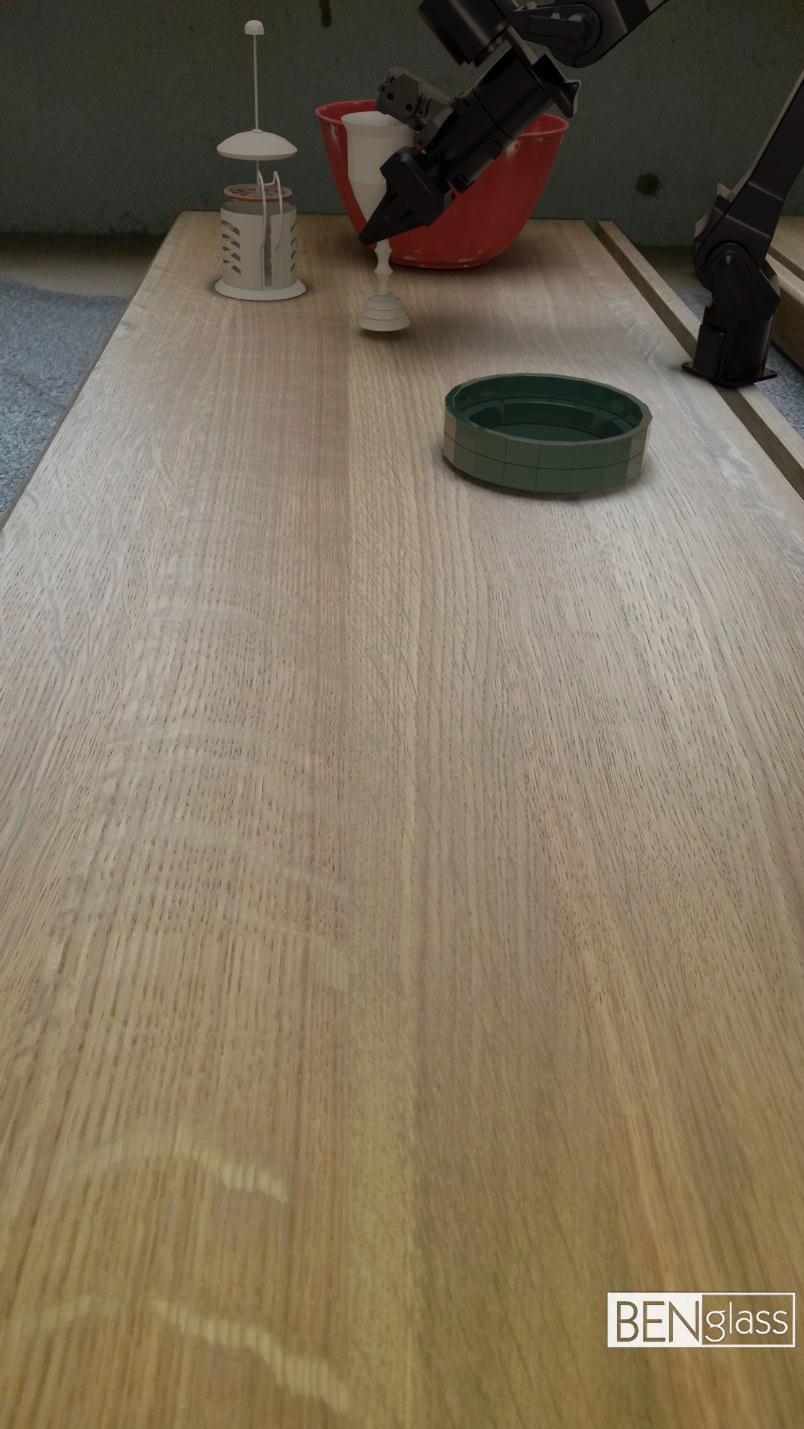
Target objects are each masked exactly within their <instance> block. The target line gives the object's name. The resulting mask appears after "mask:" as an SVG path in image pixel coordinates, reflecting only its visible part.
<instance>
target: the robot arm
mask: <svg viewBox="0 0 804 1429" xmlns="http://www.w3.org/2000/svg"><path fill="white" fill-rule="evenodd" d="M669 1H670V0H554V1H553V2H546V3H538V4H536V2H535V1H534V0H533V1H530V2H528V3H526V4H525V5H523V6H520V5H519V3H518V2H517V1H516V0H422V2H421V3H420V4H419V5H418V7H417V8H416V10H415V12H416V14H417V15H418V16H419V17H420V18H421V20H422V21H423V22H424V24H425V25H426V26H427V28H428V29H429V30H430V31H431V33H432V34H433V35H434V36H435V38H436V39H437V41H439V43H440V44H441V45H442V47H443V48H444V50H445V51H446V52H447V53H448V54H449V56H450V57H451V58H452V60H453V61H454V62H455V64H456V65H457V66H458V67H459V68H461V67H462V66H463V65H465V64H466V65H468V66H470V65H471V64H472V65H473V66H474V67H475V69H476V70H478V69H479V68H480V67H482V65H483V64H485V63H486V62H487V61H488V60H489V59H490V57H492V56H493V55H494V53H496V52H497V51H498V50H499V49H500V48H501V47H502V46H503V44H504V43H505V42H506V41H507V43H509V45H510V47H509V48H508V49H507V50H506V51H505V52H504V53H503V54H502V55H501V56H500V57H499V58H498V59H497V60H496V61H495V62H494V63H493V64H492V65H491V66H490V67H489V68H488V70H486V71H485V73H483V74H482V75H481V76H480V77H479V78H478V79H477V80H476V81H475V82H474V84H472V86H470V88H468V90H466V91H465V90H463V91H461V92H460V93H459V94H456V95H455V96H454V97H453V98H451V97H450V96H448V95H447V94H445V93H444V92H442V91H441V90H440V89H439V88H437V87H436V86H434V85H432V84H430V83H429V82H427V81H425V80H424V79H423V78H420V77H419V76H418V75H416V74H414V73H412V72H411V71H409V70H408V69H406V68H403V67H401V66H394V67H393V68H391V69H388V70H387V73H386V75H385V77H384V80H383V82H382V83H381V84H379V85H378V87H377V91H378V93H377V96H376V98H375V99H374V100H375V103H374V105H373V106H374V108H375V109H376V110H378V111H379V112H381V113H382V114H384V115H387V114H388V115H390V116H392V117H393V118H395V119H397V120H398V121H400V122H402V123H403V124H405V125H407V124H408V127H410V128H412V129H414V130H416V131H419V133H418V134H417V135H416V136H415V137H414V138H413V139H414V140H415V142H416V143H417V144H418V145H419V147H420V148H421V149H424V150H423V151H421V150H420V149H419V147H406V146H404V147H402V148H401V149H399V150H398V151H396V152H395V153H394V154H393V155H392V156H391V157H390V158H389V159H388V160H387V161H386V162H385V163H384V164H383V165H382V166H381V167H380V168H379V169H380V171H381V174H382V175H383V177H384V178H385V179H386V193H385V195H384V196H383V198H382V200H381V201H380V203H379V204H378V206H377V208H376V209H375V211H374V212H373V214H372V215H371V217H370V219H369V220H368V222H367V223H366V225H365V226H364V228H363V230H362V231H361V233H360V234H359V235H357V239H358V240H359V242H360V243H361V244H362V245H363V246H364V247H369V245H372V244H374V243H377V242H380V241H382V240H385V239H388V238H390V237H393V236H396V235H399V234H401V233H404V232H407V231H410V230H412V229H415V228H418V227H421V226H424V225H425V226H426V227H429V226H430V225H431V224H432V223H433V222H434V221H435V220H436V219H437V218H438V217H439V216H441V215H442V214H443V213H444V212H445V211H446V210H447V209H448V208H449V207H450V206H451V203H452V202H453V201H454V200H455V199H456V195H455V193H454V192H453V191H452V188H451V187H450V186H449V185H450V184H452V185H453V187H454V188H455V189H456V190H457V192H458V193H461V195H462V194H463V193H464V192H465V191H466V190H467V189H468V188H469V187H470V186H471V185H472V184H473V183H474V182H476V181H477V180H478V179H479V178H480V177H481V172H482V171H483V170H484V169H486V168H487V167H488V166H489V165H490V164H491V163H492V162H493V161H494V160H495V159H496V158H497V157H498V156H499V155H500V154H501V153H502V152H503V151H504V150H505V149H506V148H507V147H509V146H510V145H511V144H512V143H513V142H514V141H515V140H516V139H517V138H518V137H519V136H520V135H521V134H522V133H523V132H524V131H525V130H526V129H527V128H528V127H529V126H531V125H532V124H533V123H534V122H535V121H536V120H537V119H538V118H539V117H540V116H541V115H542V114H543V113H546V112H547V111H548V109H549V108H551V107H552V106H553V105H554V104H555V105H556V107H557V108H558V109H559V110H560V112H561V114H563V116H564V117H565V118H566V119H572V118H573V117H574V115H575V114H576V113H577V112H578V108H579V105H578V103H579V102H578V101H579V93H580V89H581V87H582V84H583V82H582V80H581V79H578V78H577V79H568V78H567V77H566V76H565V75H564V73H563V72H562V71H561V70H560V68H559V67H558V65H557V64H556V63H555V62H554V60H553V59H552V57H553V58H554V59H555V60H557V61H558V62H559V63H561V64H562V65H564V66H566V67H570V68H572V69H577V70H578V69H585V68H587V67H590V66H592V65H594V64H596V63H598V62H599V61H600V60H601V59H603V57H605V56H606V55H607V54H608V53H609V52H610V51H612V50H614V48H615V47H616V46H618V45H619V44H620V43H621V42H622V41H623V40H624V39H626V38H627V37H628V36H629V35H630V34H631V33H632V32H634V31H635V30H636V29H637V28H638V27H639V26H640V25H642V24H643V23H644V22H645V21H646V20H647V19H648V18H650V17H651V16H652V15H653V14H654V13H655V12H657V11H658V10H659V9H660V8H661V7H662V6H664V5H665V4H666V3H668V2H669ZM526 42H530V43H533V44H537V45H541V46H544V47H547V49H548V50H549V52H550V54H551V55H552V57H551V56H550V55H549V53H548V52H544V53H543V55H541V56H540V57H538V56H537V54H535V53H534V52H533V50H531V48H530V47H529V46H528V45H527V44H526ZM780 110H781V111H780V112H779V114H778V116H777V118H776V119H775V121H774V123H773V125H772V127H771V129H770V131H769V133H768V134H767V136H766V137H765V140H764V141H763V144H762V145H761V147H760V149H759V151H758V153H757V154H756V156H755V158H754V160H753V162H752V163H751V166H750V167H749V169H748V170H747V171H746V173H745V174H744V176H743V177H741V179H740V180H739V181H738V182H737V184H736V185H735V186H734V187H733V188H732V189H731V190H730V189H729V188H728V187H726V186H725V185H724V184H723V183H721V182H718V183H717V185H716V188H715V189H714V193H713V195H712V199H711V200H710V204H709V207H708V208H707V210H706V212H705V213H704V214H703V216H702V217H701V218H700V219H699V220H698V221H697V222H695V225H694V235H693V242H694V243H695V249H694V250H695V251H694V261H693V269H694V272H695V276H696V279H697V281H699V283H700V285H701V286H702V287H703V288H705V289H706V290H707V291H709V292H710V294H711V300H709V302H708V304H705V305H704V309H703V315H702V321H701V323H700V324H699V328H698V333H697V339H696V345H695V349H694V356H693V360H692V359H691V360H688V361H684V362H683V361H682V362H681V364H680V369H681V370H683V371H685V372H689V373H691V374H694V375H696V376H699V377H702V378H704V379H706V380H709V381H711V382H714V383H717V384H719V385H722V386H724V387H727V388H731V389H733V388H734V389H735V388H738V387H739V388H740V387H743V386H746V385H752V384H756V383H760V382H766V381H769V380H773V379H777V378H778V375H779V371H777V370H775V369H772V368H769V367H766V365H767V361H768V355H769V350H770V345H771V341H772V337H773V332H774V328H775V323H776V322H775V321H776V317H777V312H778V309H779V305H780V303H781V292H780V284H779V277H778V273H777V271H776V270H775V269H774V268H773V266H772V265H771V263H770V262H769V261H768V260H767V255H768V252H769V249H770V247H771V244H772V241H773V239H774V236H775V233H776V230H777V226H778V223H779V221H780V218H781V214H782V212H783V209H784V205H785V203H786V199H787V197H788V195H789V193H790V191H791V189H792V187H793V186H794V184H795V182H796V180H797V178H798V177H799V175H800V173H801V171H802V170H803V168H804V69H803V70H802V72H801V73H800V74H799V77H798V79H797V81H796V82H795V85H794V86H793V88H792V90H791V92H790V94H789V95H788V97H787V100H786V101H785V103H784V104H783V106H782V108H781V109H780Z"/></svg>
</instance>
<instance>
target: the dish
mask: <svg viewBox="0 0 804 1429" xmlns="http://www.w3.org/2000/svg"><path fill="white" fill-rule="evenodd" d="M653 418H654V416H653V414H652V412H651V410H650V408H649V406H648V405H647V404H646V403H645V402H643V401H642V400H641V399H639V398H638V397H637V396H635V395H634V394H632V393H630V392H627V391H625V390H622V389H620V388H618V387H616V386H613V385H610V384H608V383H604V382H600V381H597V380H592V379H590V378H589V379H588V378H583V377H578V376H572V375H566V374H565V375H564V374H557V373H541V372H513V373H512V372H511V373H496V374H491V375H486V376H480V377H476V378H472V379H468V380H467V381H464V382H462V383H460V384H458V385H455V386H453V387H452V388H451V389H450V391H449V392H448V393H447V394H446V395H445V396H444V402H443V418H442V419H443V420H442V433H441V448H442V449H441V451H442V454H443V455H444V456H445V458H446V459H447V460H448V461H449V462H450V463H451V464H452V465H453V467H455V468H457V469H459V470H460V471H462V472H464V473H466V474H468V475H470V476H472V477H473V478H476V479H479V480H481V481H484V482H486V483H489V484H492V485H495V486H498V487H501V488H505V489H508V490H513V491H518V492H524V493H532V494H541V495H543V494H544V495H574V494H577V495H578V494H585V493H593V492H596V491H602V490H607V489H610V488H614V487H617V486H621V485H624V484H626V483H628V482H629V481H631V480H632V479H634V478H636V477H637V476H639V475H640V474H641V473H642V470H643V468H644V466H645V463H646V460H647V454H648V449H649V443H650V442H649V441H650V437H651V429H652V424H653Z"/></svg>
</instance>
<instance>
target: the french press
mask: <svg viewBox="0 0 804 1429" xmlns="http://www.w3.org/2000/svg"><path fill="white" fill-rule="evenodd" d="M244 34H246V35H252V37H253V69H254V70H253V71H254V73H253V75H254V111H255V112H254V113H255V115H254V116H255V128H253V129H251V130H250V131H243V132H239V133H236V134H234V135H232V136H229V137H228V138H226V139H225V140H223V141H222V142H221V143H219V144H218V145H217V146H216V151H217V153H218V154H219V155H220V156H222V157H224V158H231V159H235V160H242V161H243V160H245V161H255V162H256V182H255V183H250V182H249V183H248V184H247V183H242V184H241V183H240V184H239V183H238V184H233V185H229V186H226V187H225V188H223V195H224V196H225V197H226V198H229V199H231V200H229V201H226V202H224V203H222V204H221V205H220V221H221V225H223V226H221V237H222V238H223V239H221V247H222V248H221V249H222V250H223V251H224V252H222V253H221V254H222V262H223V265H222V277H221V278H220V279H219V280H218V281H217V282H216V283H215V284H214V290H215V291H216V292H218V293H219V294H220V295H222V296H226V297H229V298H234V299H240V300H248V301H278V300H287V299H291V298H294V297H298V296H301V295H302V294H304V293H305V292H306V291H307V289H306V285H305V284H304V283H303V282H302V280H300V279H299V278H297V277H298V263H297V262H295V261H296V260H297V257H298V254H297V250H296V248H297V247H296V246H297V245H298V244H297V237H295V235H296V234H297V224H295V223H296V220H297V207H296V205H295V204H293V203H290V202H287V201H286V200H289V199H291V198H292V197H293V196H294V192H293V191H292V189H291V188H288V187H286V186H283V185H281V183H280V182H281V181H280V178H279V177H280V176H279V175H278V172H277V171H276V170H274V171H273V174H272V175H273V178H272V182H269V183H268V182H267V183H264V180H263V176H262V172H261V171H260V161H279V160H285V159H288V158H291V157H293V156H295V154H297V152H298V148H297V147H296V146H295V145H294V144H292V143H291V142H290V141H288V140H287V139H286V138H285V137H282V136H280V135H278V134H275V133H272V132H267V131H264V130H262V129H261V128H259V109H258V108H259V107H258V106H259V104H258V101H259V100H258V64H257V62H258V61H257V59H258V58H257V57H258V56H257V36H259V35H260V36H261V35H265V28H264V25H263V23H262V22H261V21H260V20H256V19H252V20H248V21H247V23H245V25H244ZM276 182H277V184H276ZM224 225H226V226H228V225H232V226H233V228H231V229H229V228H228V227H226V226H224ZM230 238H231V239H232V240H233V241H231V242H230V241H228V240H227V239H230ZM227 251H232V252H233V253H232V254H230V253H227ZM229 263H231V264H232V265H233V266H228V265H226V264H229Z"/></svg>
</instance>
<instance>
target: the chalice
mask: <svg viewBox="0 0 804 1429" xmlns="http://www.w3.org/2000/svg"><path fill="white" fill-rule="evenodd" d="M341 120H342V122H343V124H344V126H345V128H346V130H347V145H348V177H349V180H350V183H351V186H352V189H353V192H354V195H355V198H356V200H357V202H358V204H359V207H360V209H361V211H362V213H363V215H364V217H365V219H366V221H367V222H368V220H369V219H370V217H371V215H372V214H373V212H374V211H375V209H376V208H377V206H378V204H379V203H380V201H381V200H382V198H383V196H384V195H385V193H386V179H385V178H384V177H383V175H382V174H381V171H380V169H379V168H380V167H381V166H382V165H383V164H384V163H385V162H386V161H387V160H388V159H389V158H390V157H391V156H392V155H393V154H394V153H395V152H396V151H398V150H399V149H401V148H402V147H404V146H406V147H417V143H416V142H415V140H414V139H413V138H414V137H415V136H416V135H417V131H416V130H414V129H412V128H410V127H408V124H407V125H405V124H403V123H402V122H400V121H398V120H397V119H395V118H393V117H392V116H390V115H388V114H387V115H384V114H382V113H381V112H379V111H370V112H358V113H352V114H348V115H344V116H343V117H341ZM373 251H374V253H375V254H376V256H377V259H378V261H377V265H376V268H375V269H374V270H373V272H374V273H375V275H376V276H377V282H378V284H377V291H375V292H374V294H373V295H371V296H369V297H368V298H367V299H366V301H365V302H364V307H363V309H362V310H361V315H360V318H359V319H358V320H357V325H358V326H360V327H361V328H363V329H365V330H369V331H375V332H376V331H377V332H392V331H399V330H403V329H405V328H407V327H408V326H410V324H411V321H410V319H409V317H408V316H407V311H406V308H405V307H404V302H403V301H402V300H401V298H400V297H398V296H397V295H394V294H393V291H391V289H390V285H389V284H390V283H389V282H390V276H391V275H392V273H393V272H394V270H393V269H392V268H391V267H390V261H388V259H389V255H390V253H391V252H392V250H391V248H390V246H389V241H388V239H385V240H382V241H380V242H377V247H376V249H375V250H373Z"/></svg>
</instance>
